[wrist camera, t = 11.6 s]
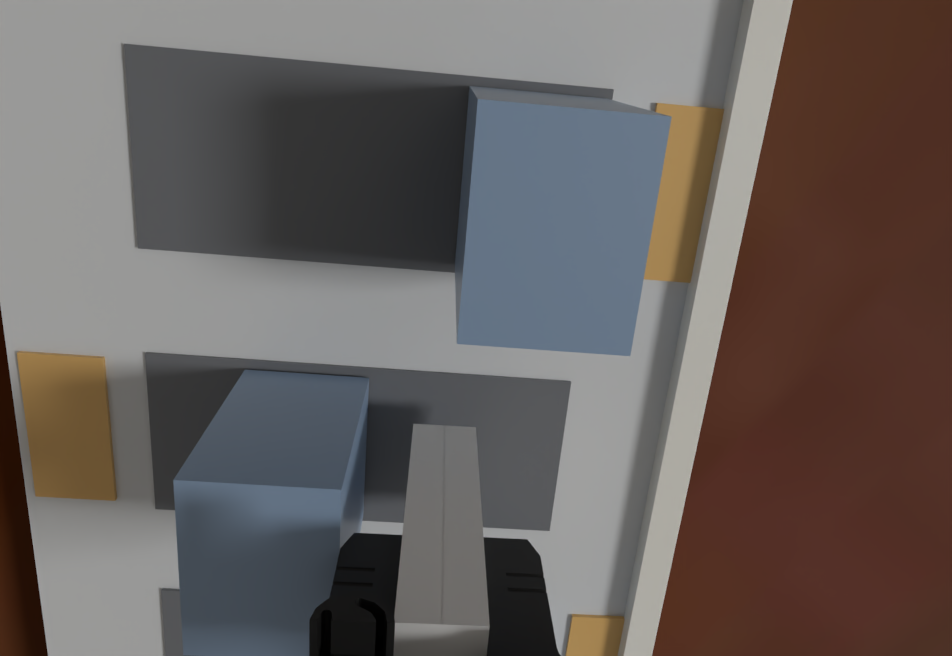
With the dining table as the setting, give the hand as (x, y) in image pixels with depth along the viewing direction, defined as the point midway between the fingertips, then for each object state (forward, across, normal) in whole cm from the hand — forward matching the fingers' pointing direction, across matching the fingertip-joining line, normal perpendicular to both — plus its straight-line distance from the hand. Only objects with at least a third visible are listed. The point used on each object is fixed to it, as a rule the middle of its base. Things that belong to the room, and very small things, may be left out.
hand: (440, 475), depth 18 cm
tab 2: (+1, +1, +7) cm, 7 cm away
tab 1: (+1, -3, 0) cm, 4 cm away
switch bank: (+3, -2, 0) cm, 4 cm away
